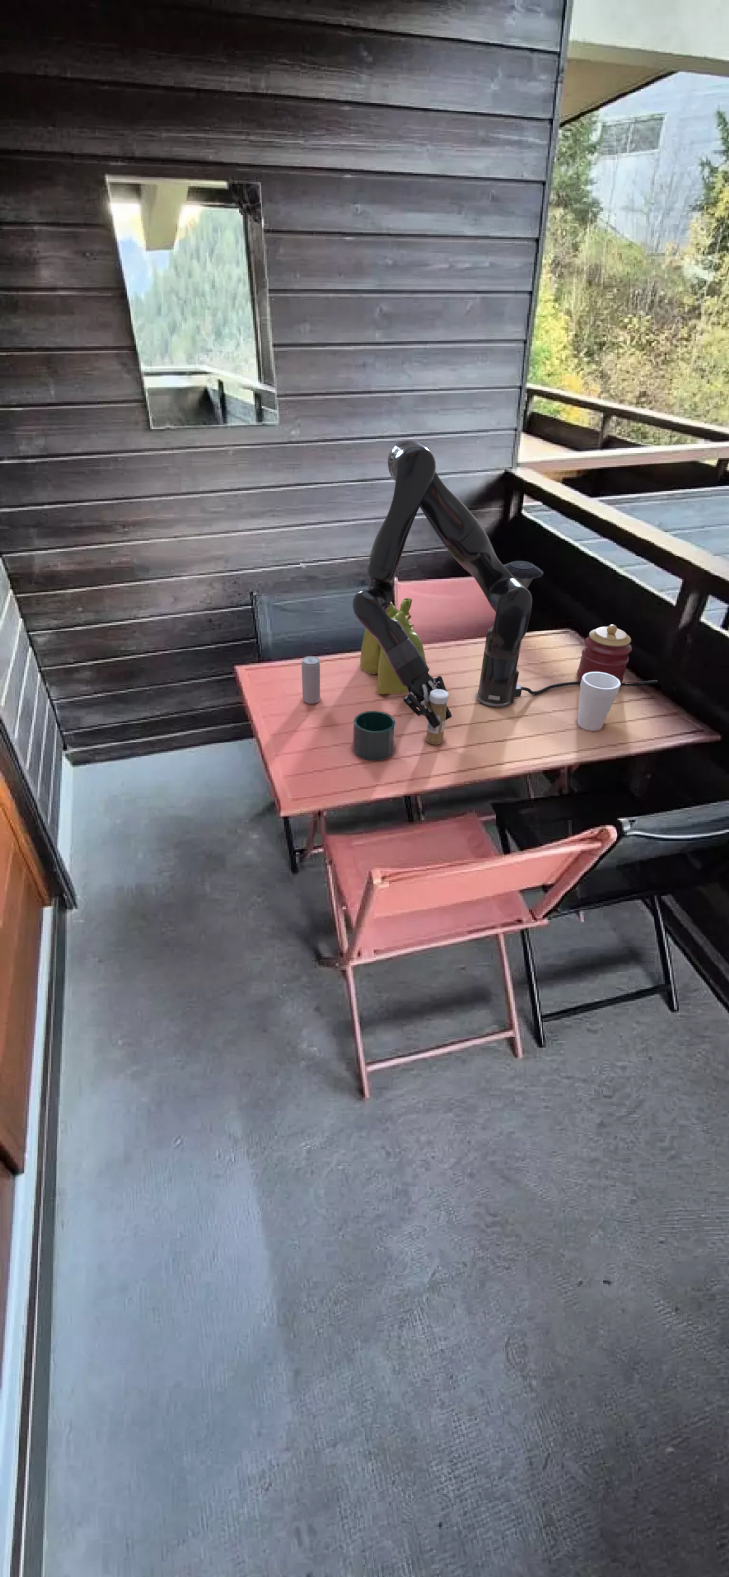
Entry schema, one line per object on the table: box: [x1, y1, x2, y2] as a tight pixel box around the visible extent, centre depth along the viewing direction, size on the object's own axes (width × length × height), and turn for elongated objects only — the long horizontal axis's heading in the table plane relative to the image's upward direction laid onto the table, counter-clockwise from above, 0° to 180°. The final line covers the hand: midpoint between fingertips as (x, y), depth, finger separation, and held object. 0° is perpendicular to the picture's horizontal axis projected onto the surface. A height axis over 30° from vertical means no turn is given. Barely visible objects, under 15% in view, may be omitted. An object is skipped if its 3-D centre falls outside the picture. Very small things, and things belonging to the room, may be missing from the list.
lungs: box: [359, 597, 428, 695], centre depth 194 cm, size 25×16×24 cm, turn 18°
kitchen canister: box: [576, 624, 633, 684], centre depth 198 cm, size 13×13×18 cm
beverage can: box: [301, 655, 321, 705], centre depth 186 cm, size 5×5×12 cm
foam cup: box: [577, 672, 621, 732], centre depth 180 cm, size 10×9×13 cm
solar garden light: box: [503, 560, 544, 589], centre depth 203 cm, size 12×12×30 cm
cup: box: [352, 710, 396, 762], centre depth 169 cm, size 10×10×8 cm
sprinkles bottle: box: [425, 689, 450, 745], centre depth 171 cm, size 5×5×14 cm
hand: (443, 722), depth 171 cm, fingers closed on sprinkles bottle, 4 cm apart
